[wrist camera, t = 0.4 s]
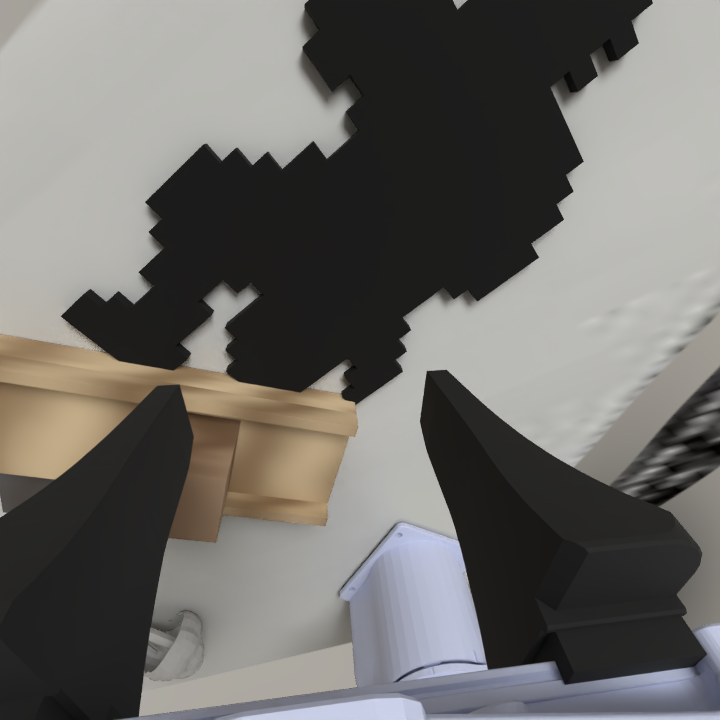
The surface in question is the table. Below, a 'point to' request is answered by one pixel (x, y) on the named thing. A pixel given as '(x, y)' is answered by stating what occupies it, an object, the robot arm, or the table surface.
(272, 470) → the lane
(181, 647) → the mushroom
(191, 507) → the walnut block
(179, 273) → the black pixelated cutout
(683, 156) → the table surface
